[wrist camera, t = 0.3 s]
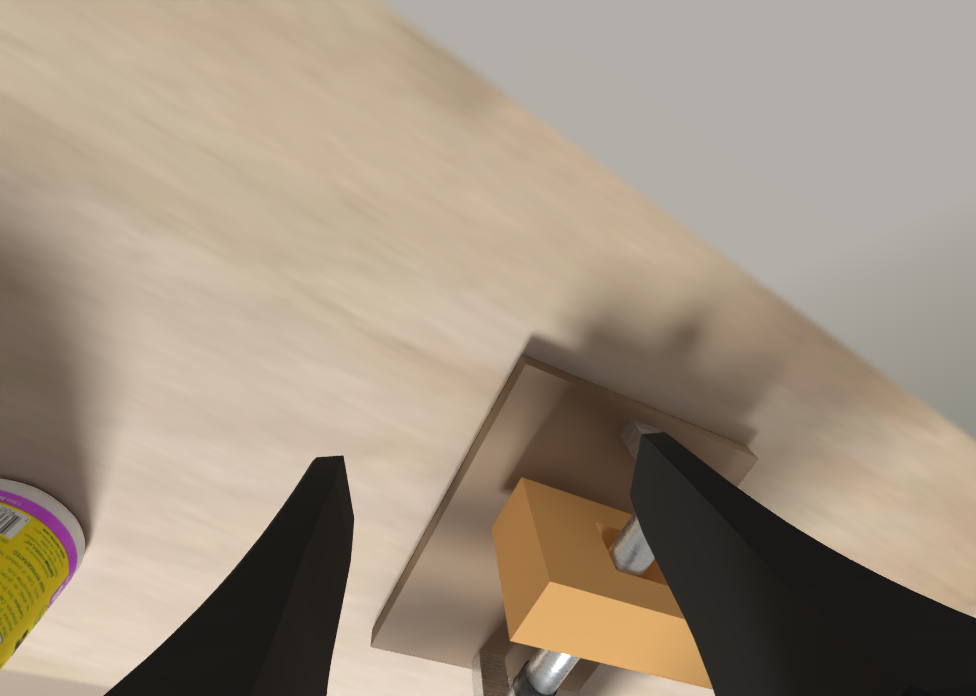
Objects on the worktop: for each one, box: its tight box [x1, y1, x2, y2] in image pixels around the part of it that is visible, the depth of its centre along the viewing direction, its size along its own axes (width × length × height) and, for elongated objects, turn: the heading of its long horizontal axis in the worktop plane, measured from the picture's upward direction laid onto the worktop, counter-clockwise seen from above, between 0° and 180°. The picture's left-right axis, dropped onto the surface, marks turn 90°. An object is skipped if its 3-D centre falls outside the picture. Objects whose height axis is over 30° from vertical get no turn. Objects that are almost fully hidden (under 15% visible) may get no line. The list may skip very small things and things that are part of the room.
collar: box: [492, 477, 712, 689], centre depth 21 cm, size 3×9×6 cm, turn 64°
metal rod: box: [471, 418, 661, 696], centre depth 24 cm, size 17×2×5 cm, turn 154°
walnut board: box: [371, 355, 758, 692], centre depth 26 cm, size 18×13×1 cm
